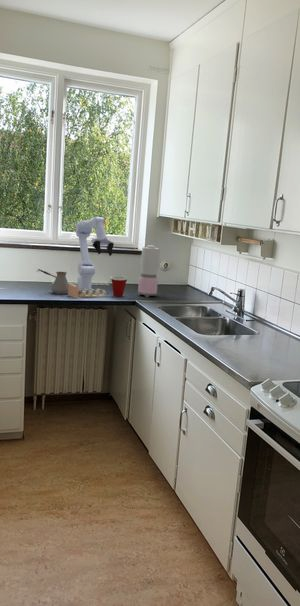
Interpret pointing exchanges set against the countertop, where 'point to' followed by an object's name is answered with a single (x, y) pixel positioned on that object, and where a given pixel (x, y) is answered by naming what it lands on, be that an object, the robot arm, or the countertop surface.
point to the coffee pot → (59, 283)
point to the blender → (148, 271)
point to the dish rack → (92, 293)
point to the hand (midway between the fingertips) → (105, 254)
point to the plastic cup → (118, 285)
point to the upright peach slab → (73, 290)
